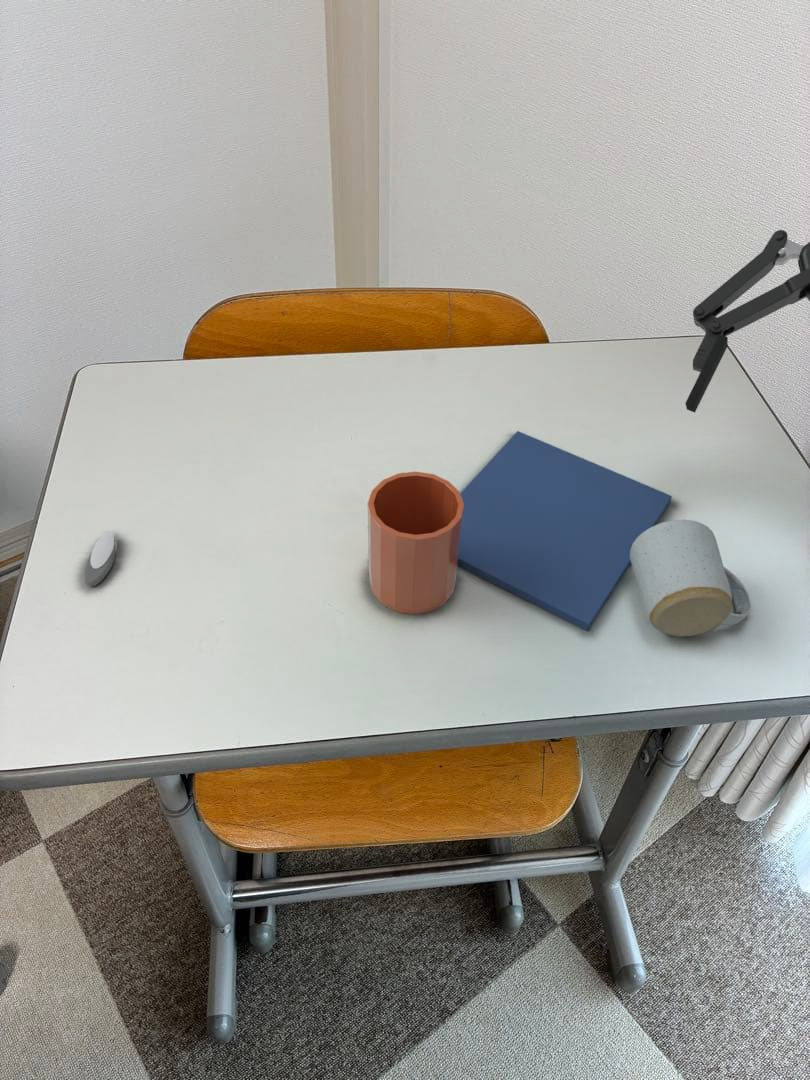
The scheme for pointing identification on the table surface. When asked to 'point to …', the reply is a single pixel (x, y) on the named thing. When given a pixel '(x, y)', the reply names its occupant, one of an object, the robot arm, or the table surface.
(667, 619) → the ceramic mug
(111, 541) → the oval pebble
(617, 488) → the blue mat
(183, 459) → the table surface
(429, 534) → the clay cup
